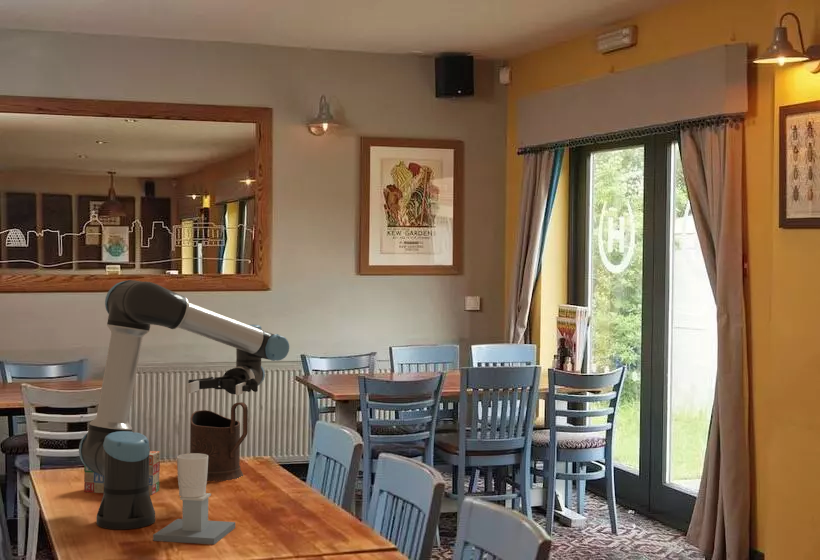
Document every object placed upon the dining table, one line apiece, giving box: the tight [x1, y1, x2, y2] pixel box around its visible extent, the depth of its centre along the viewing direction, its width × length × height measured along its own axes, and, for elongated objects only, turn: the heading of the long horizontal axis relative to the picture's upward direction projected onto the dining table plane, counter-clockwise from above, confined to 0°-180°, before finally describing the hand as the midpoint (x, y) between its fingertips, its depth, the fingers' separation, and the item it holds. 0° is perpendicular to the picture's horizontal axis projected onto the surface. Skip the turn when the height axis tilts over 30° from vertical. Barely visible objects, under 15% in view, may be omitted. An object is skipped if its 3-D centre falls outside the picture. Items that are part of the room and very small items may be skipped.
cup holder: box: [189, 401, 249, 482], centre depth 333 cm, size 18×24×25 cm
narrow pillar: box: [152, 492, 236, 545], centre depth 264 cm, size 16×16×10 cm
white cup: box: [176, 453, 208, 498], centre depth 264 cm, size 8×8×10 cm
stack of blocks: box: [83, 450, 161, 496], centre depth 310 cm, size 21×6×12 cm, turn 84°
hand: (213, 389), depth 281 cm, fingers open, 13 cm apart
